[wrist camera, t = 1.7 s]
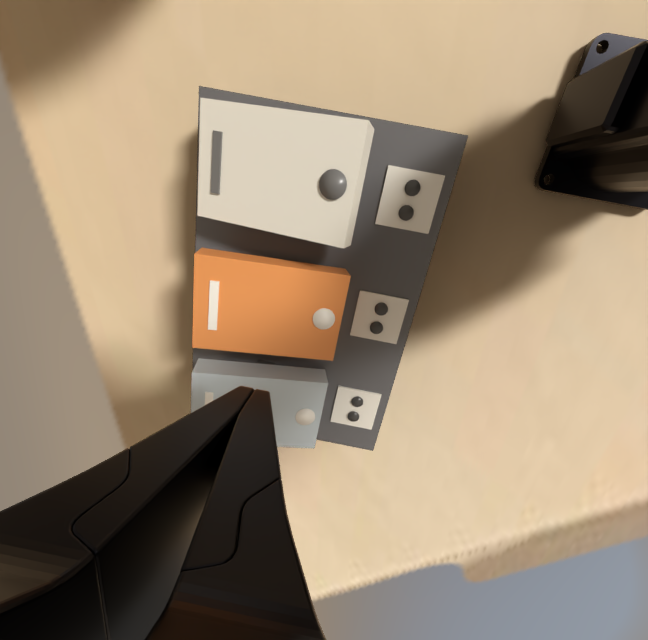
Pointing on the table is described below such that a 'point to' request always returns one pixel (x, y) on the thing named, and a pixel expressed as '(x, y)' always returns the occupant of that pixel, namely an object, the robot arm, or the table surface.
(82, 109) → the table surface
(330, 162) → the ivory rocker
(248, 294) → the orange box with knob
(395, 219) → the power strip
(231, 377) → the grey-blue rocker
